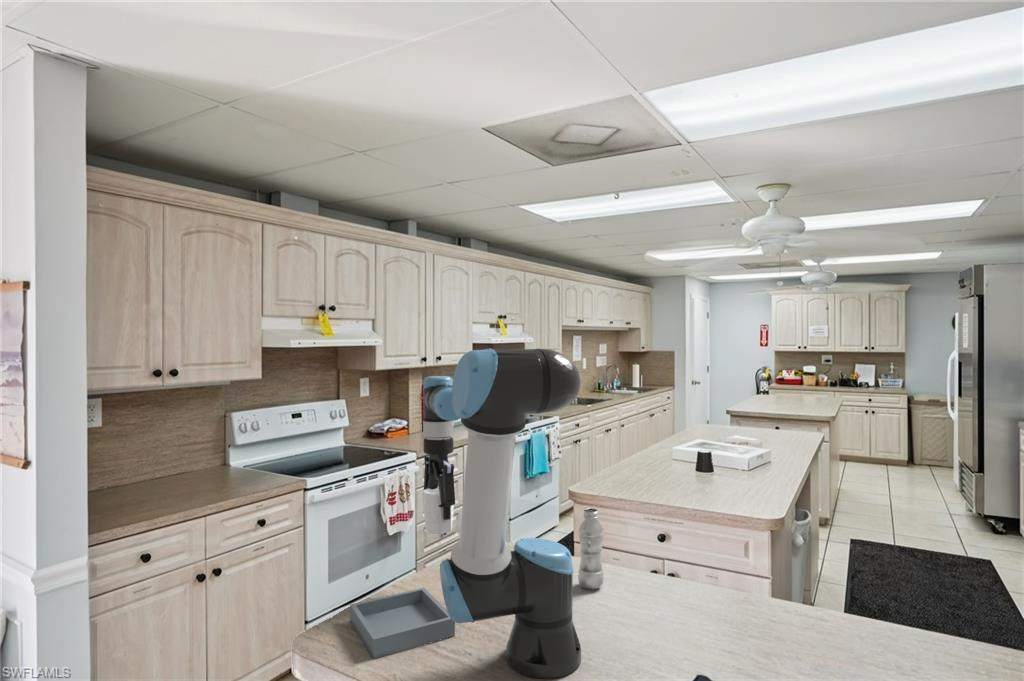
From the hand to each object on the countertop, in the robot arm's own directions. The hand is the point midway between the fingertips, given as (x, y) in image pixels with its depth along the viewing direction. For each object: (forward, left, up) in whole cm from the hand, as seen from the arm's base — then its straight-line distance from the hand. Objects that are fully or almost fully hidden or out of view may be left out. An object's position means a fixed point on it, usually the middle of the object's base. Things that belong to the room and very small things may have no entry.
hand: (438, 527), depth 149 cm
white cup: (0, 0, -1) cm, 1 cm away
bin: (-12, +14, -17) cm, 25 cm away
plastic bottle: (-16, -36, -17) cm, 43 cm away
